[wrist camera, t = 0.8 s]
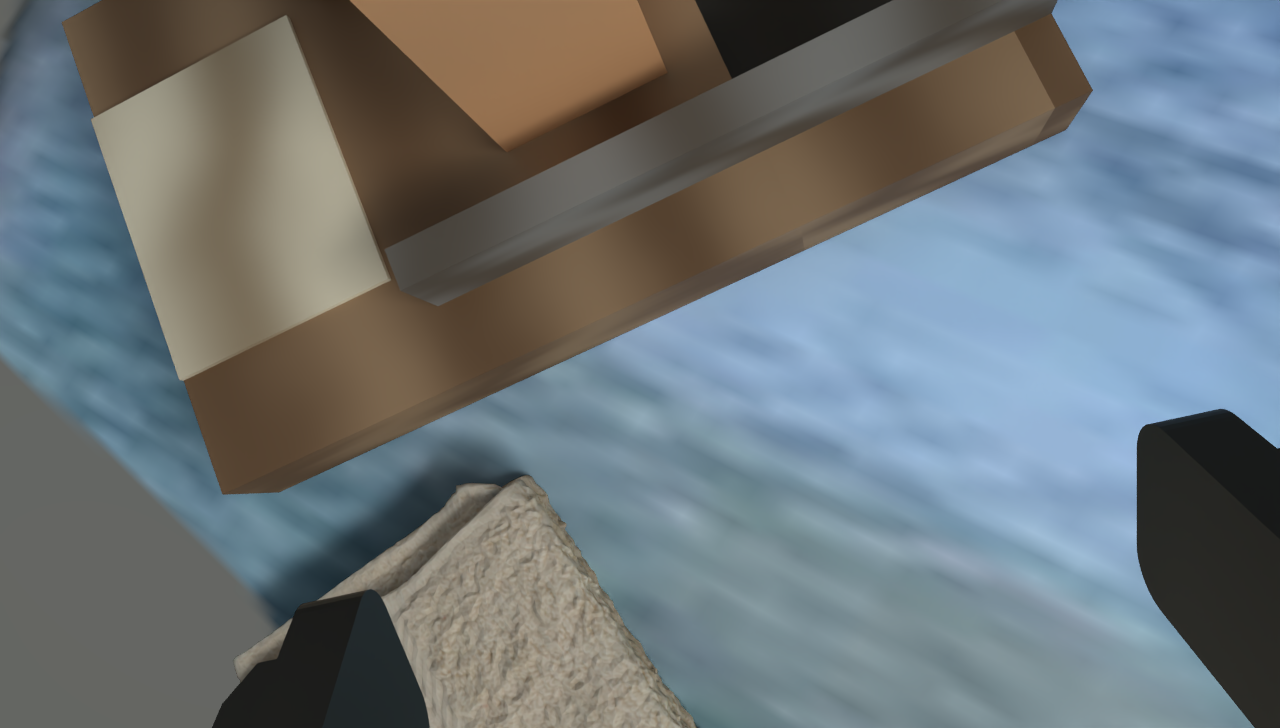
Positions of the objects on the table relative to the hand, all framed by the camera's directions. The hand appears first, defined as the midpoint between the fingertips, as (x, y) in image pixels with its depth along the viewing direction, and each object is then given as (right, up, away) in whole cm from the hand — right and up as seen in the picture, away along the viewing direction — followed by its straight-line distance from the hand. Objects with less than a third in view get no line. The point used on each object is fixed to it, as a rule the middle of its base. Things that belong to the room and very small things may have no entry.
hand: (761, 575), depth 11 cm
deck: (-4, +11, +21) cm, 24 cm away
